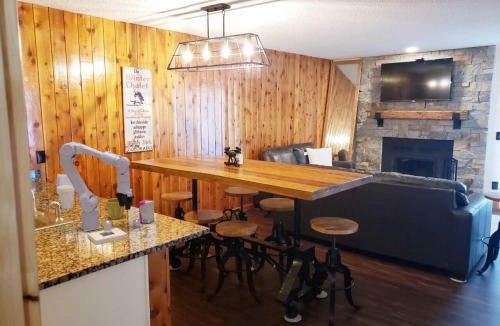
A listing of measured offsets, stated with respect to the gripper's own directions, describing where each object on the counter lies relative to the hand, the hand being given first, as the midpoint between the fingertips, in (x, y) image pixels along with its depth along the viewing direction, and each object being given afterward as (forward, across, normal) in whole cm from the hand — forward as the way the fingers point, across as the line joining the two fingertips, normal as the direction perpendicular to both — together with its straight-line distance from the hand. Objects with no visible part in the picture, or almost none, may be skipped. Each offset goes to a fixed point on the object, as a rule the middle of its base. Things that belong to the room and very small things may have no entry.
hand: (124, 208), depth 193 cm
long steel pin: (+10, -10, +12) cm, 19 cm away
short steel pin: (+10, -3, -4) cm, 11 cm away
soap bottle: (+10, +100, +3) cm, 101 cm away
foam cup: (+10, +58, +12) cm, 60 cm away
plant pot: (+10, +20, -3) cm, 23 cm away
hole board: (+10, -10, +13) cm, 19 cm away
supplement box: (+10, +1, -12) cm, 16 cm away
